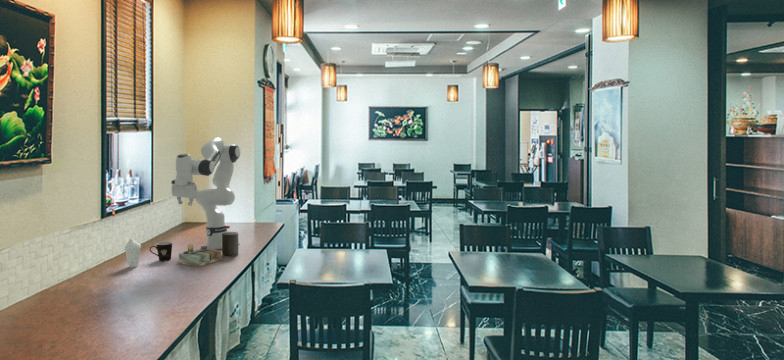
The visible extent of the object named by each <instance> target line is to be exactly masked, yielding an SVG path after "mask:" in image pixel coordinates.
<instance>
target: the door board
mask: <svg viewBox="0 0 784 360" xmlns="http://www.w3.org/2000/svg"><path fill="white" fill-rule="evenodd" d="M187 251H188V250H187ZM187 251H186V250H185V251H183V252H179V253H178V261H179V263H180V264H183V263H184V265H187V264H188V265H187V266H191V265H192V267H195V266H196V268H198V267H202V266H205V265H209V264H212V262H213V263H216V262H219V261H222V250H220V249H209V248H208V250H204V251H200V252H195V253H191V254H188V253H187Z"/></svg>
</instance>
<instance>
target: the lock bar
mask: <svg viewBox="0 0 784 360" xmlns="http://www.w3.org/2000/svg"><path fill="white" fill-rule="evenodd" d="M204 250H208V248H207V246H205V245H201V246H200V247H199V248H197V249H196V248H195V249H194V244H193V243H189V244H187V253H188V254H191V253H195V252H200V251H204Z"/></svg>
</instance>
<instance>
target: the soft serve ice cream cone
mask: <svg viewBox="0 0 784 360" xmlns="http://www.w3.org/2000/svg"><path fill="white" fill-rule="evenodd" d="M141 247H142V244H140V243H139V242H137V240H136V241H135V240H134V239H133V238H129V240H128V242H127V243H126V244H125V245H124V249H123V250H124V251H125V255H126V260H127V263H128V267H129V268H136V267H138V266H139V261H140V253H141Z"/></svg>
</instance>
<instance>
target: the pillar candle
mask: <svg viewBox="0 0 784 360" xmlns="http://www.w3.org/2000/svg"><path fill="white" fill-rule="evenodd" d="M238 242H239V232H237V231H229V232H225V233H222V249H221V256H223V257H228V258H229V257H235V256H238V255H239V245H238Z"/></svg>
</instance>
